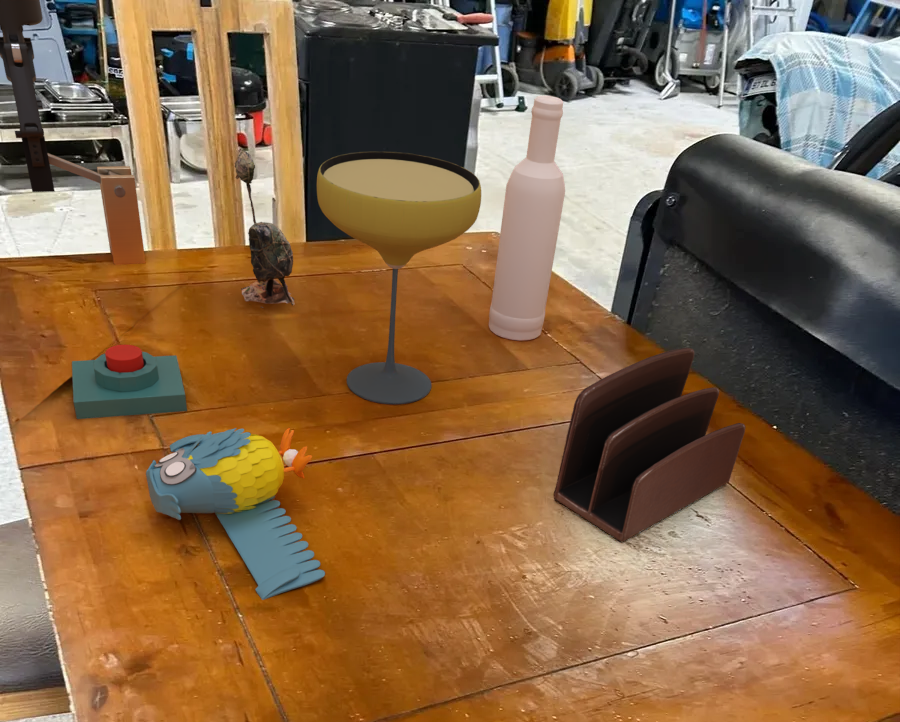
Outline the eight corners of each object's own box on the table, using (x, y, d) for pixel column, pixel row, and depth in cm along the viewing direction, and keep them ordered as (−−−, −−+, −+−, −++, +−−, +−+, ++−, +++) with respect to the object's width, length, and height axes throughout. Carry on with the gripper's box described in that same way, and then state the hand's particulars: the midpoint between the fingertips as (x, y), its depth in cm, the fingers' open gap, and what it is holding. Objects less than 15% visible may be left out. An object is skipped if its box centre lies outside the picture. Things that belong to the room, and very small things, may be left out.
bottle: (525, 346, 125) (563, 110, 105) (477, 330, 127) (506, 96, 108) (551, 329, 130) (591, 100, 111) (504, 313, 133) (535, 87, 113)
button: (108, 375, 100) (105, 361, 99) (106, 359, 103) (104, 345, 102) (145, 373, 102) (143, 359, 100) (142, 357, 104) (140, 343, 103)
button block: (77, 419, 99) (70, 387, 97) (75, 377, 106) (68, 346, 104) (187, 411, 103) (183, 379, 100) (178, 371, 110) (174, 341, 107)
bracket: (89, 284, 127) (72, 182, 118) (84, 261, 133) (66, 162, 124) (176, 280, 131) (165, 181, 122) (166, 257, 137) (155, 161, 128)
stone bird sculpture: (255, 323, 122) (248, 169, 109) (230, 291, 129) (220, 143, 116) (311, 317, 125) (310, 166, 112) (283, 286, 133) (279, 141, 120)
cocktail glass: (486, 382, 115) (512, 179, 99) (405, 436, 103) (420, 214, 87) (375, 339, 122) (383, 141, 106) (287, 384, 110) (281, 169, 94)
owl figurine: (362, 496, 78) (193, 539, 72) (361, 571, 84) (205, 618, 78) (248, 358, 96) (105, 384, 89) (254, 428, 101) (120, 457, 95)
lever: (25, 165, 116) (30, 146, 115) (23, 152, 120) (28, 135, 119) (127, 204, 123) (132, 187, 122) (122, 191, 127) (127, 175, 126)
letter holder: (551, 499, 96) (575, 381, 87) (661, 446, 107) (692, 335, 98) (621, 545, 91) (655, 424, 82) (729, 484, 102) (769, 371, 93)
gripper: (42, 1, 99) (77, 204, 113) (31, -31, 115) (63, 150, 129) (-32, -2, 96) (13, 206, 110) (-33, -35, 112) (7, 151, 127)
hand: (40, 176), depth 120 cm, fingers open, 12 cm apart
